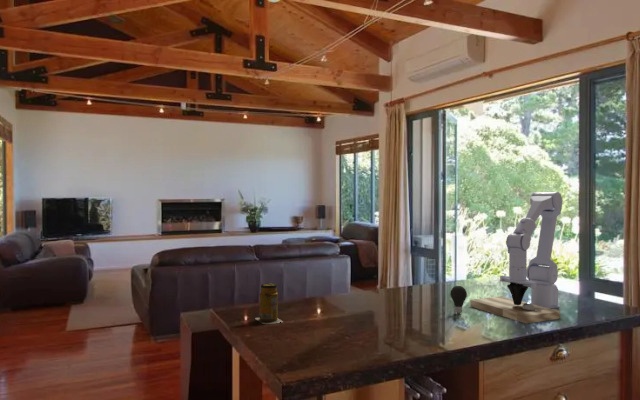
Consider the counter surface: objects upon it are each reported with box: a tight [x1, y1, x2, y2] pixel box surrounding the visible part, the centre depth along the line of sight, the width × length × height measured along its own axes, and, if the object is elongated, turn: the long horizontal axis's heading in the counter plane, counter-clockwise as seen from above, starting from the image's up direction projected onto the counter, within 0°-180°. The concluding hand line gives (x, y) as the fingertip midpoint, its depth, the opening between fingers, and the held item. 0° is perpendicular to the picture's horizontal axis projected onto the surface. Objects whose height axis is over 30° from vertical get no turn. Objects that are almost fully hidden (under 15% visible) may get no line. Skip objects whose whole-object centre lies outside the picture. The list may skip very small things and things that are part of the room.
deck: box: [470, 296, 561, 325], centre depth 167 cm, size 16×26×2 cm, turn 24°
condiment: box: [254, 282, 284, 325], centre depth 153 cm, size 7×8×12 cm
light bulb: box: [450, 285, 468, 315], centre depth 164 cm, size 6×6×10 cm
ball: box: [522, 302, 535, 311], centre depth 161 cm, size 4×4×4 cm
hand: (517, 304), depth 165 cm, fingers closed
